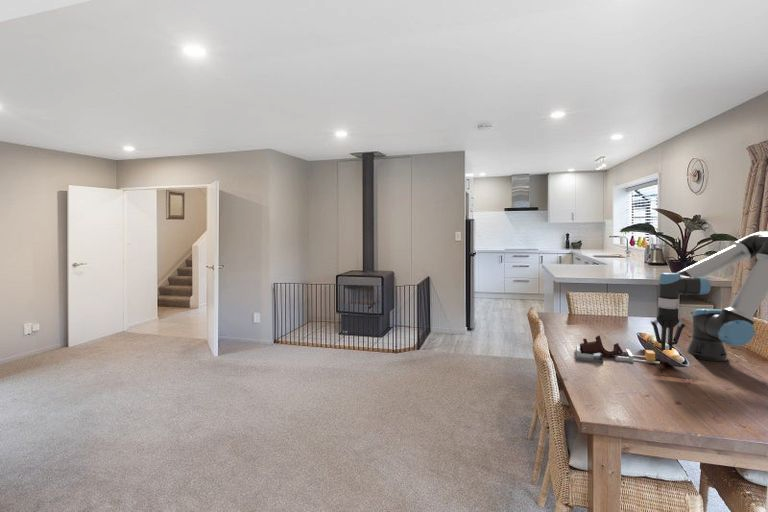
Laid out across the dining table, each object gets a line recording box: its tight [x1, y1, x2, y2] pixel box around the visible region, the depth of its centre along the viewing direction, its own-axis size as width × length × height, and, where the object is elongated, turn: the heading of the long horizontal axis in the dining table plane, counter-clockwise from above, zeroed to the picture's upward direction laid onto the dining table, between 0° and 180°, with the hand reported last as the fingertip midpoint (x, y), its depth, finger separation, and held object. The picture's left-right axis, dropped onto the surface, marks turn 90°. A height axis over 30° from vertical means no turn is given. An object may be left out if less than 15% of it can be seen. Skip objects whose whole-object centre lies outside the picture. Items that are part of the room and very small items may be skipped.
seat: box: [574, 344, 661, 365], centre depth 193 cm, size 34×13×4 cm, turn 68°
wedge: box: [644, 349, 656, 361], centre depth 187 cm, size 3×5×4 cm, turn 158°
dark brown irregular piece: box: [579, 334, 624, 358], centre depth 195 cm, size 6×17×10 cm, turn 79°
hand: (666, 358), depth 185 cm, fingers closed
